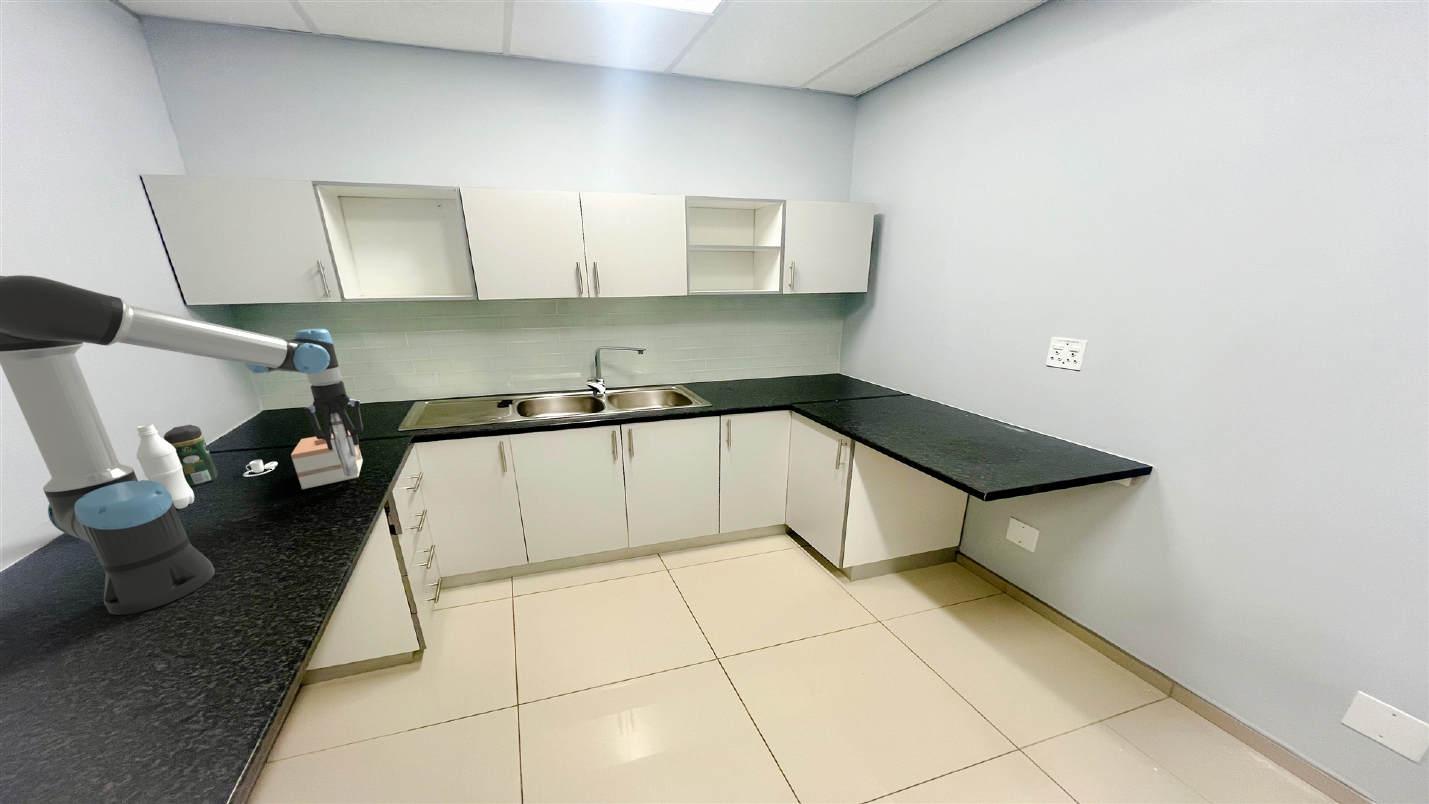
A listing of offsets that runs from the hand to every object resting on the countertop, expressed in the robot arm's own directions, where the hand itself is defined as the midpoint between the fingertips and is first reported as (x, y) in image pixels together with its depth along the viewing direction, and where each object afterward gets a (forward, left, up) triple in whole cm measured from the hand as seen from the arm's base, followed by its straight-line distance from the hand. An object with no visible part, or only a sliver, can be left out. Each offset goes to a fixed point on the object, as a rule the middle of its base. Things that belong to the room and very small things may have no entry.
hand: (347, 456), depth 142 cm
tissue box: (+14, +7, -9) cm, 18 cm away
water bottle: (+14, +43, -10) cm, 46 cm away
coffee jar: (+35, +44, -10) cm, 57 cm away
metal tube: (0, 0, -6) cm, 6 cm away
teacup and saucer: (+32, +26, -10) cm, 43 cm away
